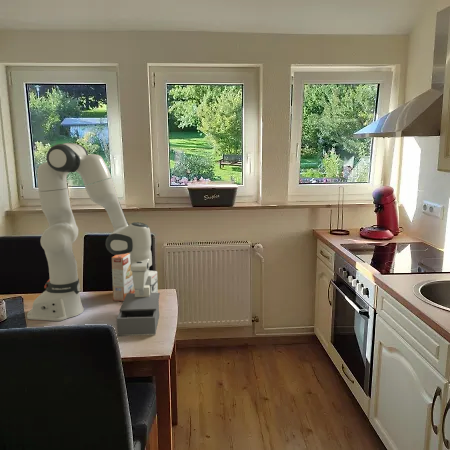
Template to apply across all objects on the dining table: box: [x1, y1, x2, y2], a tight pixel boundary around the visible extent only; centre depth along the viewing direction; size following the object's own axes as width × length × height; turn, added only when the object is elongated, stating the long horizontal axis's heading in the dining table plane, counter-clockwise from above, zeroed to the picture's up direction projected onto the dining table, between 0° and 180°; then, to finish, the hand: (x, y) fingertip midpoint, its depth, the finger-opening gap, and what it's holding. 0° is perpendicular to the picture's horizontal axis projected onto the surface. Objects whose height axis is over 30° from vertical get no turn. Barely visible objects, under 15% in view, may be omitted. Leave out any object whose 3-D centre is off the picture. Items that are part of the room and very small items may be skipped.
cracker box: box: [111, 253, 135, 302], centre depth 195 cm, size 14×6×21 cm, turn 170°
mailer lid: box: [119, 285, 161, 312], centre depth 169 cm, size 14×18×5 cm
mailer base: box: [116, 300, 160, 337], centre depth 164 cm, size 14×18×7 cm
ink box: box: [145, 270, 159, 293], centre depth 195 cm, size 8×5×12 cm, turn 168°
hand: (142, 292), depth 175 cm, fingers closed on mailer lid, 3 cm apart
